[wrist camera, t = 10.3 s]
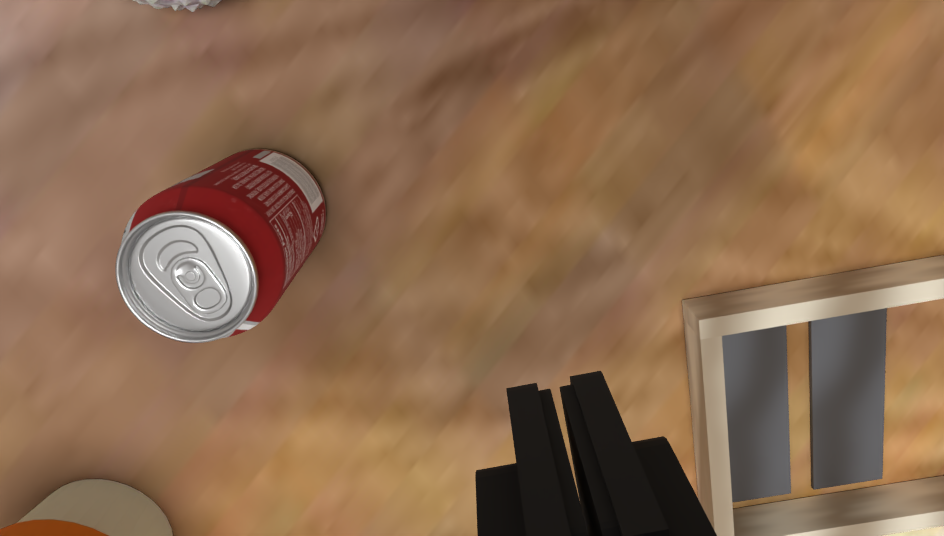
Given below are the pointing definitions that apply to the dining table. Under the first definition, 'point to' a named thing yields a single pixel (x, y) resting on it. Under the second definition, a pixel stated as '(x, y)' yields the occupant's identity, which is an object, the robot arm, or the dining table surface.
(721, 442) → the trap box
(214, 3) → the sea urchin shell
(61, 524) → the reusable coffee cup
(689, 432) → the dining table surface
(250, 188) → the soda can
